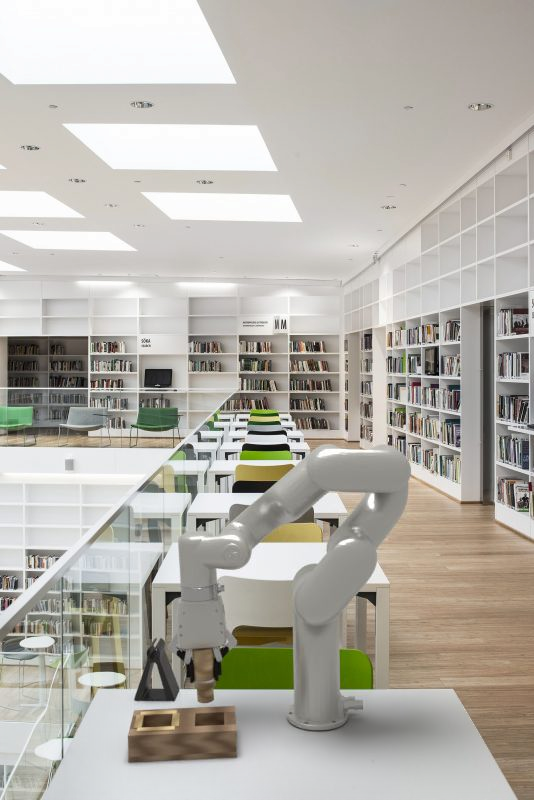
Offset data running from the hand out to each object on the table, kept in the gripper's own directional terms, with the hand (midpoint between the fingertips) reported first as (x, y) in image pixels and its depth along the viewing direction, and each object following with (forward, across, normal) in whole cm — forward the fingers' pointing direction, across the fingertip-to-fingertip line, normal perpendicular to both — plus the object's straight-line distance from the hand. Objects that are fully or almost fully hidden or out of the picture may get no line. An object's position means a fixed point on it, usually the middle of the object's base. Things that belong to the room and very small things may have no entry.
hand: (204, 678), depth 162 cm
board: (+8, +4, +11) cm, 15 cm away
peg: (+4, 0, 0) cm, 4 cm away
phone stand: (+8, +11, -13) cm, 19 cm away
